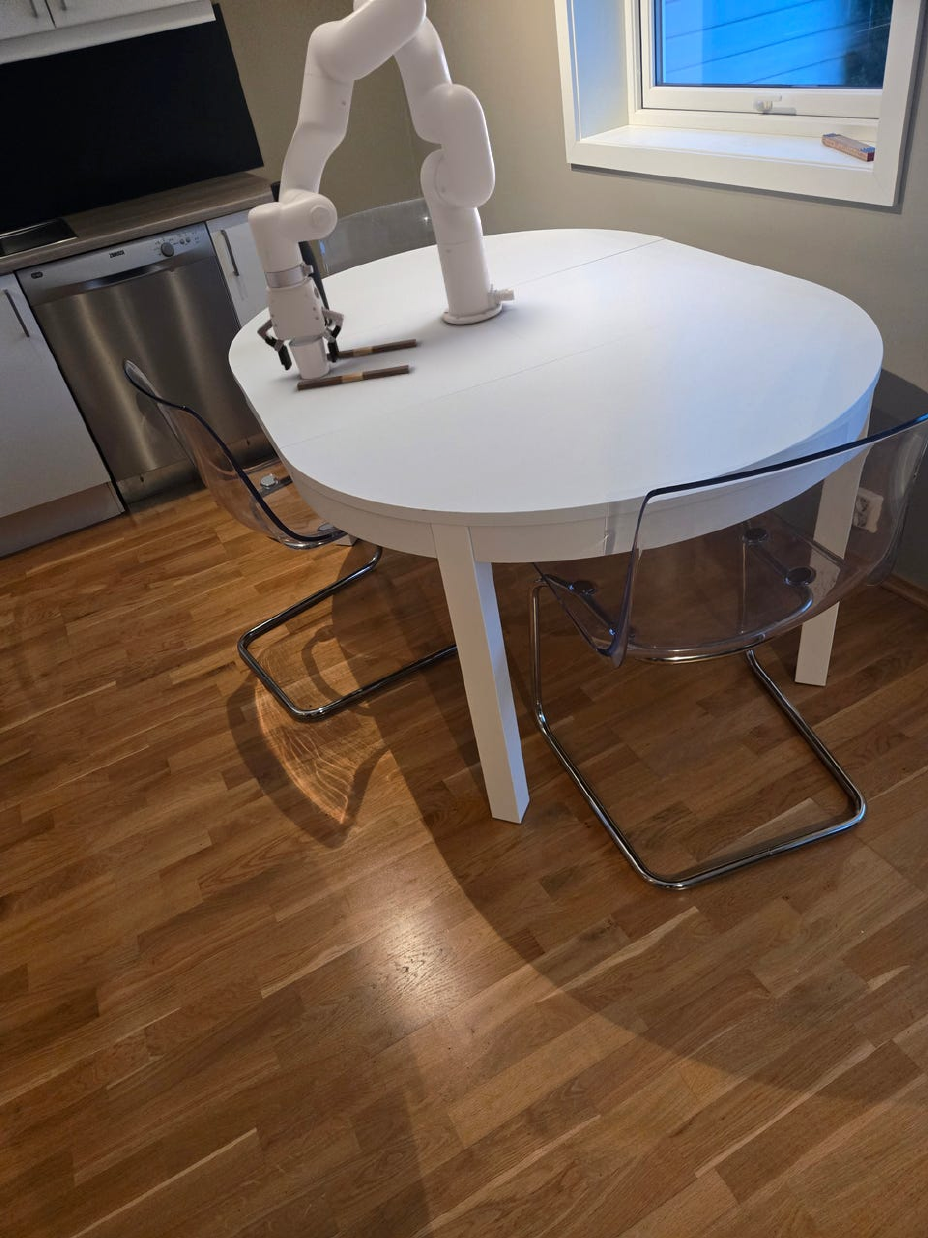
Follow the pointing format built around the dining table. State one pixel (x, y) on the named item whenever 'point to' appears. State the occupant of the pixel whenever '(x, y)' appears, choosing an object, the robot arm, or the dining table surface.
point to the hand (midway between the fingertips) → (312, 363)
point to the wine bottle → (306, 255)
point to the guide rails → (362, 375)
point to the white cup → (310, 356)
